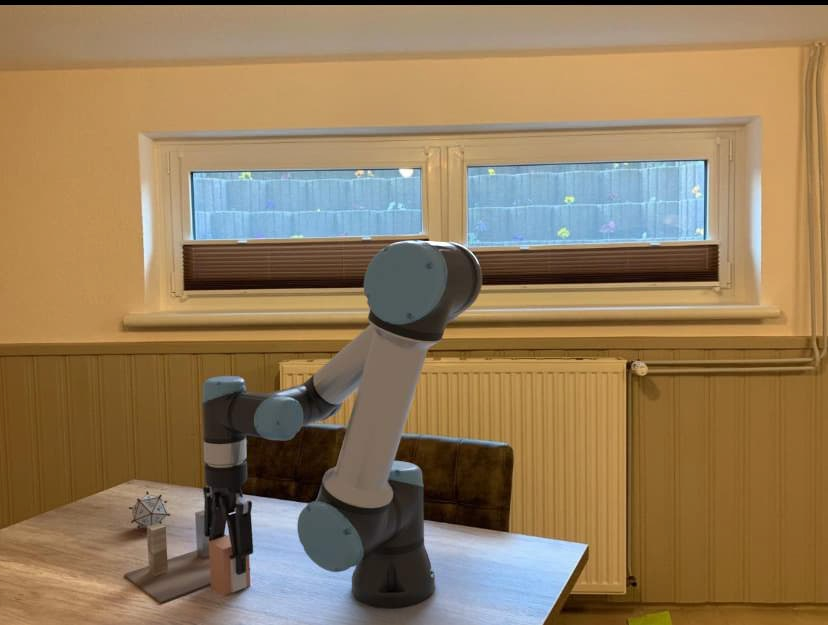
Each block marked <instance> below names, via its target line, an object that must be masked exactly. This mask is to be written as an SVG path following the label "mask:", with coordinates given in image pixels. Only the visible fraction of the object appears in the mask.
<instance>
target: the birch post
mask: <svg viewBox="0 0 828 625" xmlns="http://www.w3.org/2000/svg"><path fill="white" fill-rule="evenodd" d="M146 535H147V536H146V539H147V555H148V556H147V557H148V558H147V559H148V566H149V572H150V573H151V574H153V575H154V576H157V575H159V574H162V573H165V572H168V562H167V560H168V548H167V547H168V546H167V527H166V525H164V524H163V523H162V524H161V523H158V524H155V525H151V526H148V527H147V528H146Z"/></svg>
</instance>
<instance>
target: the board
mask: <svg viewBox="0 0 828 625" xmlns="http://www.w3.org/2000/svg"><path fill="white" fill-rule="evenodd" d="M167 562H168V572H165V573H162V574H159V575H157V576H154V575H153V574H151V573H150V572H149V565H148V566H145V567H142V568H139V569H136V570H132V571H129V572H126V573H124V575H123V576H124V577H125V578H126V579H128V580H129V581H130V582H131V583H132V584H134V585H136V587H137V588H139V589H141V591H143V592H144V593H146V594H147V595H148V596H150V598H152V599H153V600H155V601H156V602H157V603H158V604H160V605H162V604H165V603H167V602H171V601H173V600H176V599H178V598H181V597H183V596H186V595H189V594H192V593H193V592H197V591H199V590H202V589H204V588H207V587H209V586H210V587H211V578H210V557H209V558H206V559H202V558H200V557H199V556H197V549H196V550H193V551H190V552H187V553H184V554H181V555H177V556H174V557H172V558H169V559H168V558H167Z"/></svg>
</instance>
